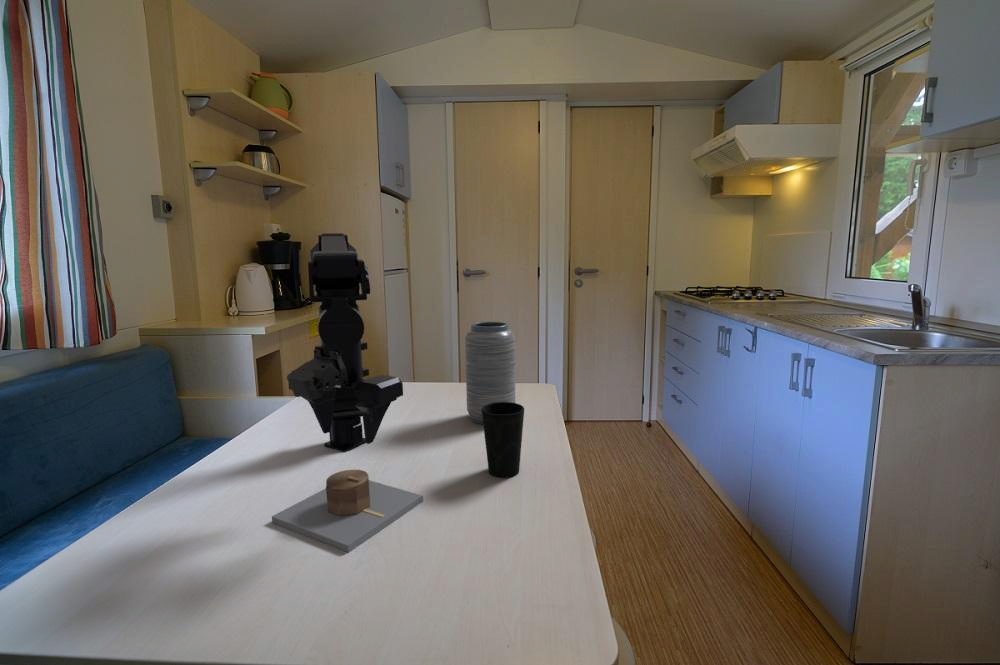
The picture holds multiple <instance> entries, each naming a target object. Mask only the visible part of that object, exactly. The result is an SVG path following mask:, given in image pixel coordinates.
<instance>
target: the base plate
mask: <svg viewBox="0 0 1000 665" xmlns="http://www.w3.org/2000/svg"><path fill="white" fill-rule="evenodd" d="M369 492H370V506H369V507H368V508H366V509H365V510H363V511H361V512H360V513H358V514H352V515H345V516H338V515H335V514H332V513H328V506H327V495H326V488H324V489H322V490H320V491H318V492H316V493H314V494H313V495H310V496H309V497H306V498H305V499H303V500H300V501H299V502H296V503H295V504H293V505H291V506H288V507H287V508H285V509H283V510H281V511H279V512H277V513H275V514H274V515H272V516H271V522H272V524H274V525H278V526H280V527H282V528H284V529H288V530H290V531H293V532H295V533H299V534H301V535H303V536H305V537H309V538H311V539H314V540H316V541H319V542H321V543H324V544H326V545H328V546H330V547H331V546H332V547H334V548H337V549H339V550H342V551H345V552H346V553H350V552H351V551H353V550H354V549H357V547H359V546H360V545H362V544H364V542H366V541H368V540H369V539H371V538H372V537H373V536H375V535H376V534H378V533H380V531H382V530H384V529H386V528H387V527H388V526H389V525H391V524H392V523H394V522H395V521H396V520H398V519H399V518H401V517H402V516H404V515H406V514H407V513H408V512H410V511H411V510H413V509H414V508H416V507H417V506H418V505H420V504H421V503H423V502H424V496H423V495H422V494H419V493H416V492H411V491H407V490H404V489H401V488H397V487H394V486H391V485H387V484H383V483H381V482H380V483H379V482H378V481H373V480H370V479H369Z"/></svg>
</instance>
